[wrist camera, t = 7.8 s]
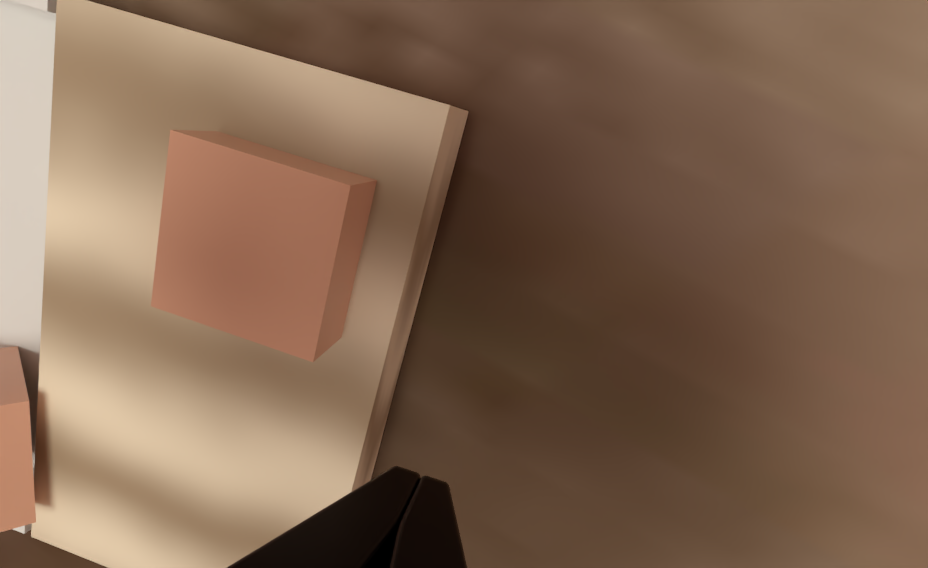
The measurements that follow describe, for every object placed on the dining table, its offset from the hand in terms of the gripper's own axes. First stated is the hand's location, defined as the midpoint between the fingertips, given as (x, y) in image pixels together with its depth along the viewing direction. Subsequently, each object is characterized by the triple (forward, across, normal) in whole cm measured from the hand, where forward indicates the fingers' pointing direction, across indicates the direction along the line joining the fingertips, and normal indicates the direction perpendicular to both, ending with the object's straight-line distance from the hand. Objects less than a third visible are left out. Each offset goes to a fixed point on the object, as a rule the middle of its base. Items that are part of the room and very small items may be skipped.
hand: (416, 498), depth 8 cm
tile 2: (+9, +16, +10) cm, 21 cm away
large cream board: (+11, +9, +4) cm, 15 cm away
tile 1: (+8, +7, -1) cm, 11 cm away
